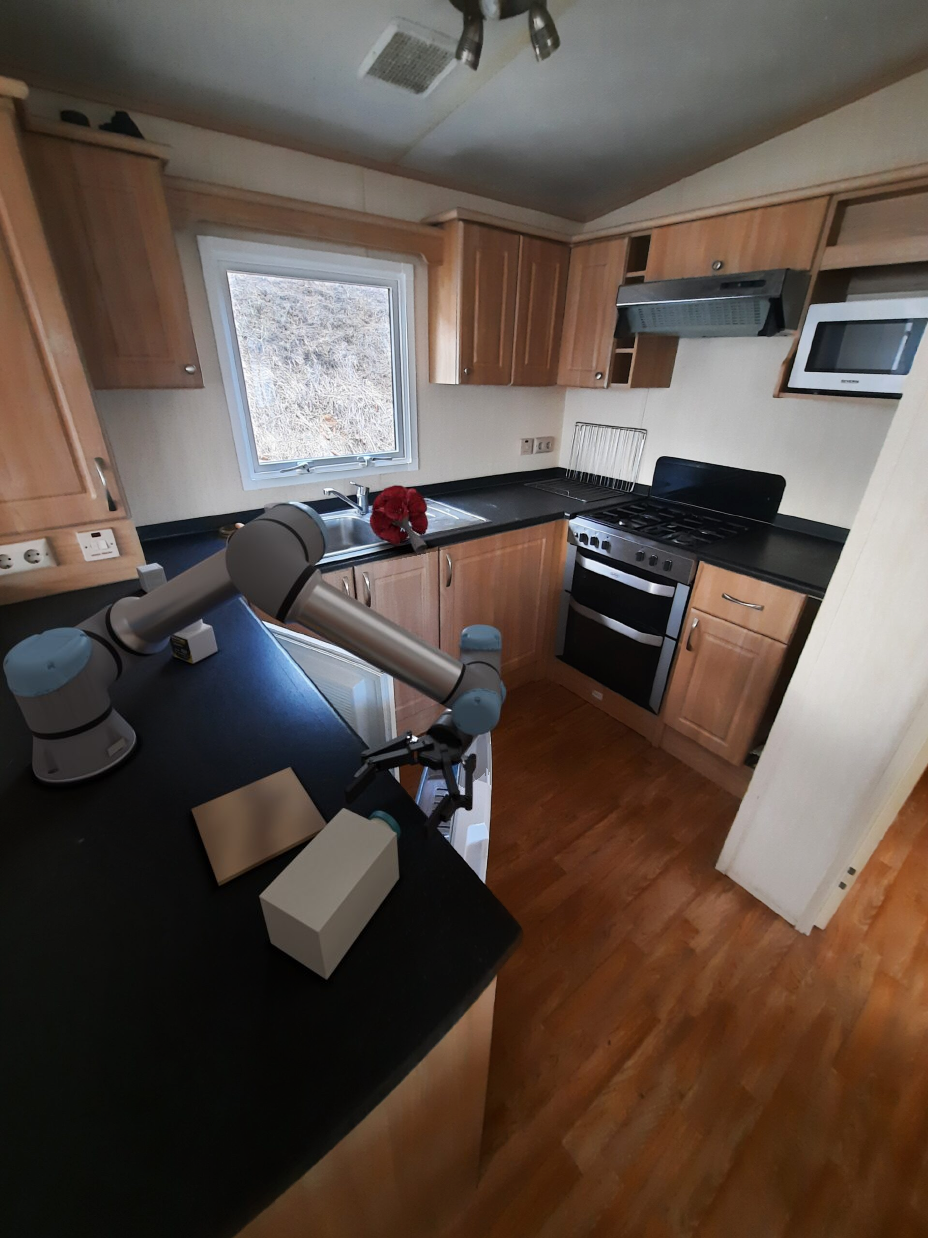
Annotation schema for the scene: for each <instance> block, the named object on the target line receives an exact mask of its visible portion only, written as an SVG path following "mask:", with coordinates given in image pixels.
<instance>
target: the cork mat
mask: <svg viewBox="0 0 928 1238" xmlns="http://www.w3.org/2000/svg"><path fill="white" fill-rule="evenodd" d="M191 813H192V815H193V819H194V821H195V824H196V827H197V830H198V833H199V835H200V838H201V840H202V843H203V846H204V849H205V852H206V855H207V858H208V861H209V863H210V866H211V868H212V871H213V874H214V877H215V880H216V883H217V885H218V887H220V886H222V885H224V884H226V883H227V882H230V881H232V880H234V879H235V878H237V877H239V876H241V875H243V874H246V873H247V872H249V871H251V870H253V869H255V868H256V867H260V866H261V865H263V864H264V863H266V862H268V861H270V860H272V859H274V858H276V857H278V856H279V855H282V854H284V853H285V852H288V851H290V850H291V849H293V848H296V847H297V846H299V845H301V844H303V843H305V842H307V841H309V840H311V839H312V838H313V839H314V838H315V837H316V836H317V835H318V834H319V833H320V832H321V831H322V830H323V829H324V828H325V826H326V825H327V824H328V823H327V822H326V821H325V819H324V818H323V816H322V814H321V812H320V811H319V810H318V809H317V807H316V805H315V804H314V802H313V800H312V799H311V797H310V796H309V794H308V793H307V791H306V790H305V788H304V786H303V785H302V783H301V782H300V780H299V778H298V777H297V776H296V774H295V772H294V771H293V769H292V767H291V766H289V767H287V768H284V769H281V770H279V771H277V772H275V773H272V774H270V775H268V776H266V777H263V778H261V779H259V780H255V781H254V782H251V783H248V784H247V785H244V786H242V787H240V788H238V789H235V790H233V791H231V792H228V793H226V794H223V795H221V796H218V797H216V798H214V799H212V800H209V801H207V802H204V803H202V804H199V805H197V806H196V807H193V808H191Z"/></svg>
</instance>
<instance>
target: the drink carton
mask: <svg viewBox="0 0 928 1238" xmlns="http://www.w3.org/2000/svg"><path fill="white" fill-rule="evenodd" d="M326 824H327V825H326V826H325V828H324V829H323V830H322V831H321V832H320V833H319V834H318V835H317V836H315V837H313V839H312V840H311V841H310V842H309V843H308V844H307V845H306V846H305V848H303V849H302V850H301V852H300V853H298V854H297V856H296V857H295V858H294V859H293V860H292V861H290V863H289V864H288V865H287V866H286V867H285V868H284V869H283V870H282V872H280V873H279V875H277V876H276V878H275V879H273V881H272V882H271V883H270V884H269V885H268V886H267V887H266V888H265V889H264V890H263V891H262V892H261V893H260V895H258V897H259V899H260V900H259V901H260V904H261V909H262V912H263V917H264V921H265V924H266V925H265V926H266V928H267V933H268V937H269V940H270V943H271V945H273V946H275V947H276V948H278V949H279V950H280V951H282V952H284V953H285V954H287V955H288V956H290V957H292V959H294V960H296V961H297V962H299V963H301V964H302V965H304V966H305V967H307V968H308V969H310V970H311V971H312V972H314V973H315V974H318V975H319V976H320V977H322V978H323V979H325V980H328V979H329V978H330V976H331V975H332V973H333V972H334V971H335V969H336V968H337V967H338V965H339V964H340V962H341V961H342V960H343V958H344V957H345V955H346V954H347V952H348V951H349V950H350V948H351V947H352V945H353V944H354V942H355V941H356V940H357V938H358V937H359V936H360V934H361V932H362V931H364V930H363V929H365V927H366V926H367V924H368V923H369V922H370V920H371V918H372V917H373V916H374V914H375V913H376V912H377V910H378V909H379V907H380V905H381V904H382V903H383V902H384V900H385V899H386V897H387V896H388V895H389V893H390V892H391V891H392V889H393V888H394V886H395V885H396V883H397V882H398V880H399V879H400V870H399V869H400V867H399V855H398V854H399V852H398V840H399V838H400V837H401V834H402V832H401V831H402V830H401V827H400V825H399V824H398V822H397V821H396V820H395V818H393V816H392V815H390V814H389V813H387V812H385V811H382V810H375V811H373V812H372V813H371V814H370V815H369V817H368V818H366V817H363V816H361V815H359V814H358V813H355V812H352V810H350V809H346V808H344V807H343V808H341V809H340V810H339V812H338V813H336V815H335V816H334V817H333V818H332V819H331V820H330V821H329V822H328V823H326Z"/></svg>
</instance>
